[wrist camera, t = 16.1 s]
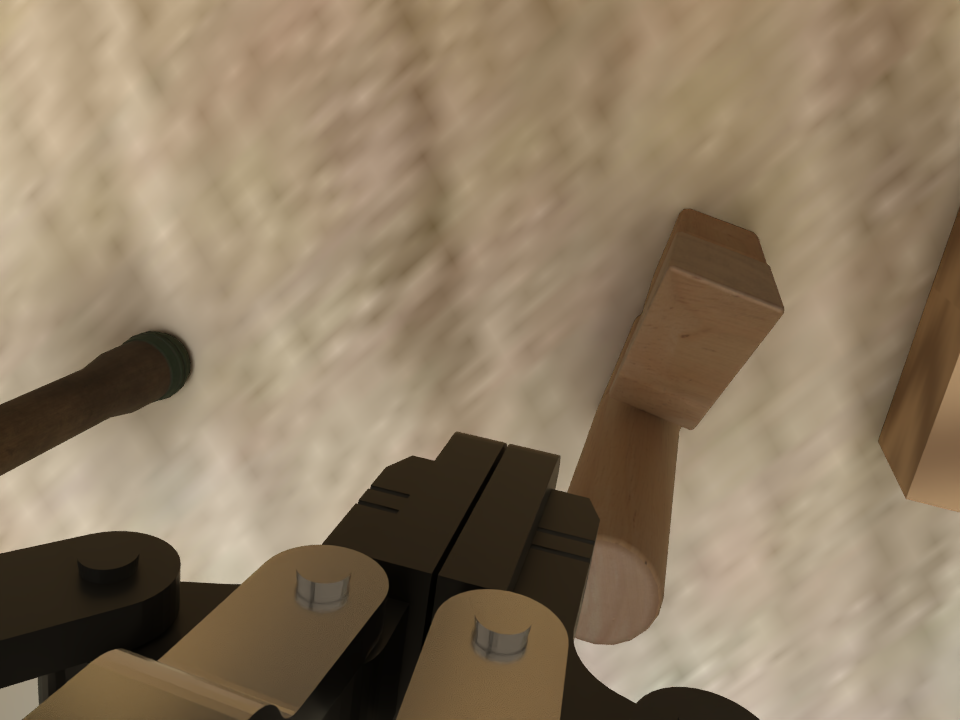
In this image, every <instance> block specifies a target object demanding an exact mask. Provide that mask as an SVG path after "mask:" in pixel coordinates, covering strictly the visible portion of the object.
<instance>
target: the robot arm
mask: <svg viewBox="0 0 960 720" xmlns="http://www.w3.org/2000/svg"><path fill="white" fill-rule="evenodd" d="M559 466H560V455H556V454H551V453H547V452H543V451H538V450H534V449H530V448H526V447H521V446H517V445H513V444H509V445H508V447H507V444H506V443H504V442H499V441H495V440H491V439H486V438H482V437H478V436H474V435H469V434H465V433H461V432H455V433H454V435H453V436H452V437H451V439H450V440H449V442H448V443H447V444H446V446H445V447H444V448H443V450H442V451H441V453H440V454H439V455H438V457H437V458H436V460H435V461H433V460H429V459H425V458H420V457H416V456H410V457H408V458H406V459H404V460H401V461H399V462H397V463H395V464H392V465H390V466H388V467H386V468H385V469H384V470H383V471H382V473H381V474H380V475H379V476H378V477H377V479H376V480H375V481H374V482H373V483H372V485H371V488H370V489H367V491H366V492H365V493H364V494H363V495H362V497H361V498H360V499H359V502H358V504H355V505H354V506H353V507H352V509H351V510H350V511H349V512H348V513H347V515H346V516H345V517H344V518H343V520H342V521H341V522H340V523H339V524H338V526H337V527H336V528H335V529H334V530H333V532H332V533H331V534H330V535H329V536H328V538H327V539H326V540H325V541H324V542H323V544H322V545H308V546H301V547H296V548H292V549H289V550H286V551H283V552H281V553H279V554H277V555H275V556H273V557H272V558H270V559H269V560H268V561H266V562H265V563H264V564H263V565H262V566H261V567H260V568H259V569H258V570H256V571H255V572H254V573H253V574H252V575H251V576H250V577H249V578H248V579H247V580H246V581H244V582H243V583H242V584H215V583H197V582H180V566H181V563H180V557H179V555H178V553H177V551H176V550H175V549H174V548H173V547H172V546H171V545H170V544H168V543H167V542H165V541H163V540H161V539H159V538H157V537H154V536H151V535H148V534H143V533H138V532H128V531H111V532H101V533H95V534H89V535H84V536H80V537H75V538H71V539H66V540H61V541H57V542H52V543H48V544H43V545H38V546H34V547H29V548H24V549H20V550H15V551H11V552H6V553H1V554H0V689H1V688H4V687H7V686H10V685H14V684H17V683H20V682H24V681H27V680H30V679H34V678H37V677H38V694H39V706H38V707H37V708H36V709H34V710H33V711H32V712H31V713H29V714H28V715H27V716H26V717H25V718H24V719H22V720H759V719H758V718H757V717H756V716H755V715H753V714H752V713H751V712H749V711H748V710H747V709H745V708H744V707H742V706H740V705H739V704H737V703H735V702H733V701H731V700H729V699H727V698H725V697H723V696H720V695H717V694H714V693H712V692H709V691H704V690H700V689H696V688H688V687H670V688H663V689H659V690H656V691H653V692H651V693H649V694H647V695H645V696H644V697H642V698H641V699H640V700H639V701H638V702H637V703H634V702H632V701H630V700H628V699H627V698H625V697H623V696H621V695H619V694H618V693H616V692H614V691H613V690H611V689H609V688H608V687H607V686H605V685H604V684H603V683H601V682H600V681H599V680H597V679H596V678H595V677H594V676H593V675H592V674H591V673H590V672H589V671H588V669H587V668H586V667H585V666H584V664H583V663H582V662H581V660H580V658H579V656H578V655H577V652H576V649H575V647H574V638H575V634H576V630H577V626H578V621H579V617H580V613H581V608H582V603H583V599H584V594H585V589H586V585H587V580H588V575H589V570H590V566H591V561H592V556H593V552H594V547H595V542H596V537H597V533H598V528H599V523H600V519H599V517H598V515H597V513H596V511H595V509H594V507H593V505H592V502H591V500H590V498H587V497H583V496H578V495H574V494H570V493H566V492H562V491H558V490H555V488H556V483H557V477H558V472H559Z"/></svg>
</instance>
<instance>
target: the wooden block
mask: <svg viewBox="0 0 960 720" xmlns="http://www.w3.org/2000/svg"><path fill="white" fill-rule="evenodd" d="M783 313H784V306H783V303H782V301H781V298H780V295H779V292H778V289H777V286H776V283H775V280H774V277H773V274H772V271H771V269H770V266H769V265H768V264H767V263H766V260H765V257H764V254H763V251H762V248H761V245H760V242H759V239H758V237H757V236H756V235H755V234H754V233H753V232H751V231H748V230H745V229H743V228H740V227H737V226H735V225H732V224H729V223H727V222H724V221H721V220H719V219H716V218H713V217H711V216H708V215H705V214H703V213H700V212H697V211H695V210H692V209H684V210H683V211H682V212H681V213H680V214H679V216H678V219H677V221H676V223H675V226H674V228H673V230H672V233H671V235H670V238H669V240H668V242H667V245H666V247H665V250H664V252H663V254H662V257H661V259H660V261H659V264H658V266H657V269H656V271H655V273H654V276H653V280H652V283H651V286H650V289H649V292H648V295H647V298H646V301H645V304H644V310H643V312H642V314H641V315H640V316H638V317H637V318H636V320H635V321H634V323H633V326H632V328H631V330H630V333H629V335H628V338H627V340H626V342H625V345H624V347H623V350H622V352H621V354H620V357H619V359H618V361H617V364H616V366H615V369H614V371H613V373H612V376H611V378H610V380H609V383H608V385H607V388H606V390H605V392H604V395H603V397H602V399H601V402H600V404H599V406H598V409H597V411H596V414H595V417H594V420H593V422H592V425H591V428H590V431H589V434H588V437H587V439H586V442H585V445H584V448H583V450H582V453H581V456H580V459H579V461H578V464H577V467H576V470H575V472H574V475H573V478H572V481H571V483H570V486H569V489H568V492H567V493H570V494H574V495H578V496H583V497H587V498H590V500H591V502H592V505H593V507H594V509H595V511H596V513H597V515H598V517H599V519H600V523H599V528H598V533H597V537H596V542H595V547H594V552H593V556H592V561H591V566H590V570H589V575H588V580H587V585H586V589H585V594H584V599H583V603H582V608H581V613H580V617H579V621H578V626H577V630H576V634H575V638H577V639H580V640H583V641H586V642H590V643H593V644H606V645H614V644H618V643H622V642H626V641H630V640H632V639H633V638H635V637H636V636H638V635H639V634H641V633H643V632H644V631H646V630H647V629H648V628H649V627H650V625H651V624H652V623H653V621H654V620H655V619H656V617H657V616H658V615H659V612H660V608H661V605H662V601H663V596H664V586H665V575H666V565H667V554H668V544H669V533H670V523H671V512H672V502H673V491H674V481H675V470H676V460H677V449H678V439H679V431H680V429H681V427H684V428H687V429H689V430H692V429H694V428H695V427H696V426H697V424H698V423H699V422H700V421H701V419H702V418H703V417H704V415H705V414H706V413H707V412H708V410H709V409H710V408H711V406H712V405H713V404H714V403H715V401H716V400H717V399H718V397H719V396H720V395H721V394H722V392H723V391H724V390H725V388H726V387H727V386H728V384H729V383H730V382H731V381H732V379H733V378H734V377H735V375H736V374H737V373H738V372H739V370H740V369H741V368H742V366H743V365H744V364H745V363H746V361H747V360H748V359H749V357H750V356H751V355H752V353H753V352H754V351H755V350H756V348H757V347H758V346H759V344H760V343H761V342H762V341H763V339H764V338H765V337H766V335H767V334H768V333H769V332H770V330H771V329H772V328H773V326H774V325H775V324H776V322H777V321H778V320H779V319H780V317H781V316H782V315H783Z"/></svg>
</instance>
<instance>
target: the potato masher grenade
mask: <svg viewBox="0 0 960 720" xmlns="http://www.w3.org/2000/svg"><path fill="white" fill-rule="evenodd" d="M189 373H190V360H189V356H188V353H187V351H186V349H185V348H184V346H183V345H182V343H181V342H179V341H178V340H177V339H176V338H175V337H173V336H171V335H169V334H166V333H160V332H152V331H148V332H145V333H141V334H138V335H135V336H132V337H131V338H130V339H129V340H127V341H126V342H124V343H123V344H122V345H121V346H119V347H116V348H114V349H112V350H110V351H107V352H105V353H103V354H101V355H99V356H98V357H97V358H96V359H94V360H93V361H92V362H91V363H90V364H88V365H87V366H86V367H85V368H83V369H82V370H79V371H77V372H75V373H73V374H70V375H68V376H66V377H63V378H61V379H59V380H56V381H54V382H52V383H49V384H47V385H45V386H42V387H40V388H38V389H36V390H33V391H31V392H29V393H26V394H24V395H22V396H19V397H17V398H15V399H12V400H10V401H8V402H5V403H3V404H1V405H0V476H1V475H3V474H5V473H6V472H8V471H10V470H12V469H14V468H16V467H18V466H20V465H21V464H23V463H25V462H27V461H29V460H31V459H33V458H35V457H37V456H38V455H40V454H42V453H44V452H46V451H48V450H50V449H52V448H53V447H55V446H57V445H59V444H61V443H63V442H65V441H67V440H68V439H70V438H72V437H74V436H76V435H78V434H80V433H82V432H84V431H85V430H87V429H89V428H91V427H93V426H95V425H97V424H99V423H100V422H102V421H104V420H106V419H108V418H110V417H114V416H119V415H123V414H128V413H132V412H134V411H136V410H138V409H140V408H142V407H144V406H146V405H148V404H150V403H152V402H155V401H158V400H163V399H166V398H169V397H171V396H172V395H173V394H175V393H176V392H178V391H179V390H180V389H181V388H182V387H183V386H184V383H185V381H186V379H187V377H188V375H189Z"/></svg>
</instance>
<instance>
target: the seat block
mask: <svg viewBox="0 0 960 720" xmlns="http://www.w3.org/2000/svg"><path fill="white" fill-rule="evenodd" d="M878 442H879V444H880V446H881V448H882V450H883V452H884V454H885V457H886V459H887V461H888V463H889V465H890V467H891V469H892V471H893V473H894V475H895V477H896V479H897V481H898V483H899V485H900V487H901V489H902V492H903V494H904V496H905V498H906V499H909V500H913V501H917V502H921V503H925V504H929V505H933V506H937V507H941V508H945V509H949V510H953V511H957V512H960V208H959V211H958V214H957V217H956V220H955V222H954V225H953V228H952V231H951V234H950V237H949V240H948V243H947V245H946V248H945V251H944V254H943V257H942V260H941V263H940V265H939V268H938V271H937V274H936V277H935V280H934V283H933V285H932V288H931V291H930V294H929V297H928V300H927V303H926V306H925V308H924V311H923V314H922V317H921V320H920V323H919V326H918V328H917V331H916V334H915V337H914V340H913V343H912V346H911V349H910V351H909V354H908V357H907V360H906V363H905V366H904V369H903V371H902V374H901V377H900V380H899V383H898V386H897V389H896V391H895V394H894V397H893V400H892V403H891V406H890V409H889V412H888V414H887V417H886V420H885V423H884V426H883V429H882V432H881V434H880V437H879V440H878Z"/></svg>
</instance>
